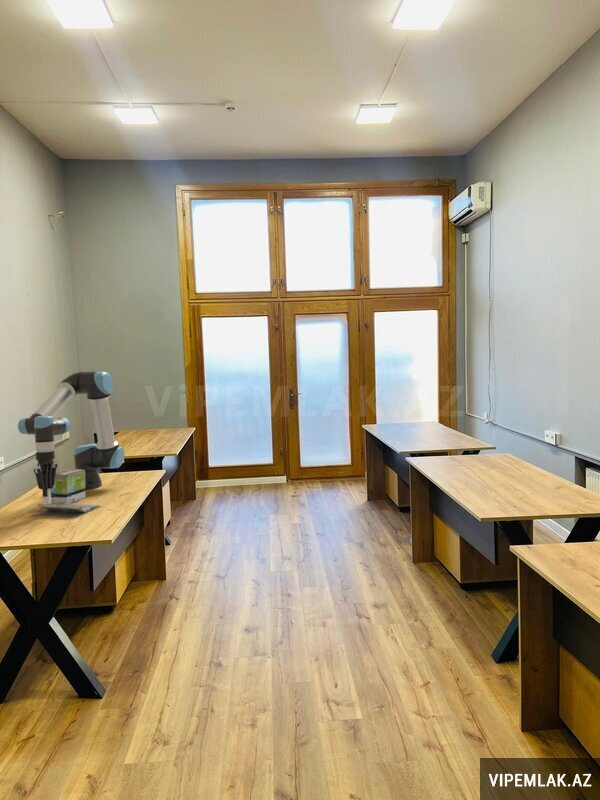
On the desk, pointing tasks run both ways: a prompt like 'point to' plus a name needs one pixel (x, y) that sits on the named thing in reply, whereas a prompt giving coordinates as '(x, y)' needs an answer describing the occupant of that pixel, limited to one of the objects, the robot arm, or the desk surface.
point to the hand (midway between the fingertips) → (47, 503)
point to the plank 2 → (72, 508)
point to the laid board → (85, 506)
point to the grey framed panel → (64, 513)
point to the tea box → (68, 486)
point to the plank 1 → (50, 507)
